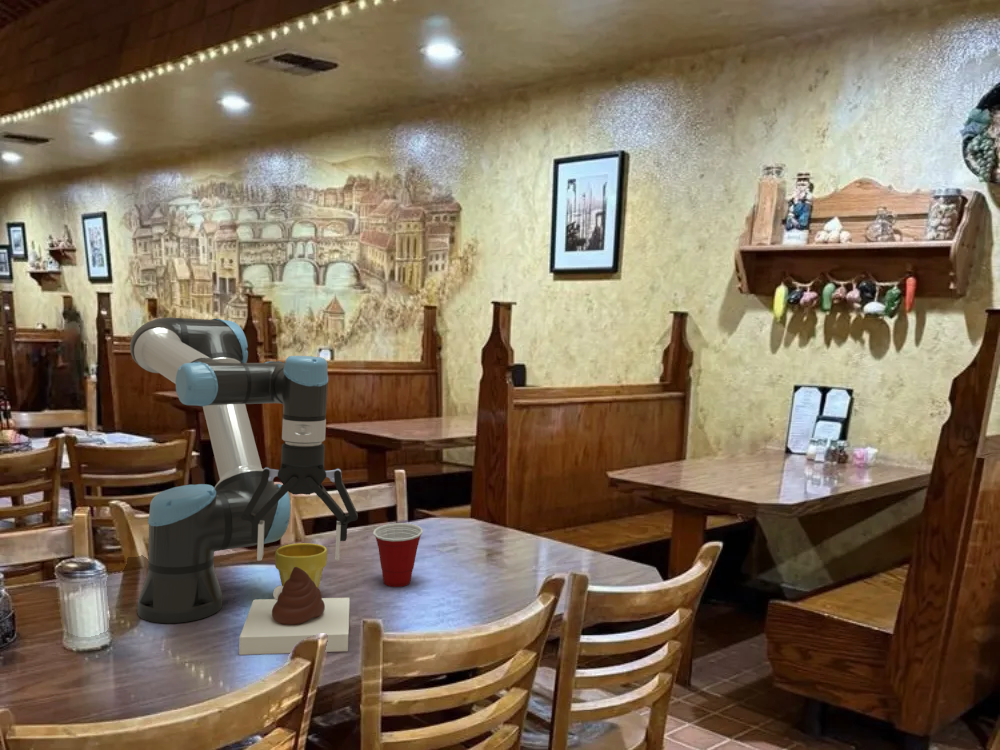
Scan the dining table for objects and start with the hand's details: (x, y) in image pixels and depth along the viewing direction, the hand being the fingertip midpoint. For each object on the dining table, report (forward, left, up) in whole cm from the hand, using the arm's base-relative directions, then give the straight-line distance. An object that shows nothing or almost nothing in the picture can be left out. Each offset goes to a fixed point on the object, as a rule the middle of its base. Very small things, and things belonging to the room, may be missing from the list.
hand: (299, 558), depth 140 cm
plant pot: (-1, +19, -14) cm, 23 cm away
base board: (0, 0, -14) cm, 14 cm away
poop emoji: (0, -1, -11) cm, 11 cm away
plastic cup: (+19, +26, -14) cm, 35 cm away
